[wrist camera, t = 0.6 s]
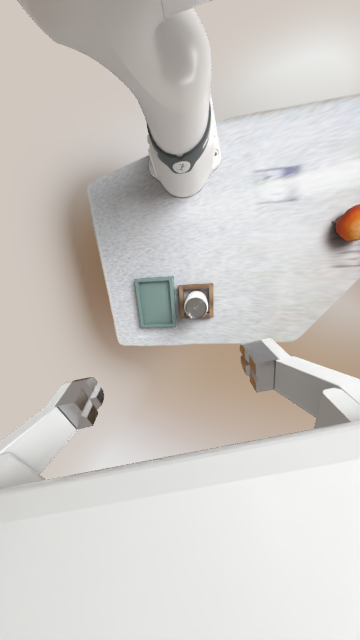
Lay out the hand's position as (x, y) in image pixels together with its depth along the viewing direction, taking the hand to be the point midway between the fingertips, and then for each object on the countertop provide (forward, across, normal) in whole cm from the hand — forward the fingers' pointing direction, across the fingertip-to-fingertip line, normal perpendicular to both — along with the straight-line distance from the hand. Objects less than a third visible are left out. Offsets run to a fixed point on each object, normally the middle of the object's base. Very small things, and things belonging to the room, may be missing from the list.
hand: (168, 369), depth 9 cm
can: (+43, -6, +12) cm, 45 cm away
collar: (+43, -6, +12) cm, 45 cm away
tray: (+45, +7, +11) cm, 46 cm away
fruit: (+40, -48, +1) cm, 62 cm away
